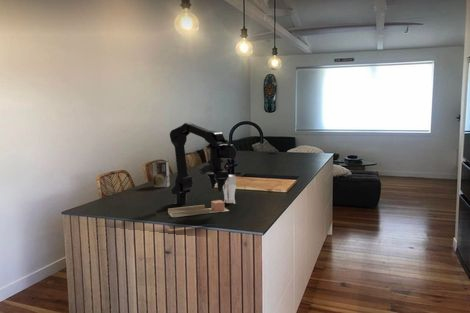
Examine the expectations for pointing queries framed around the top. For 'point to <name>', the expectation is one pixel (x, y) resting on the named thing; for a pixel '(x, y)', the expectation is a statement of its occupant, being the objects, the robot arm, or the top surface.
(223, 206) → the block
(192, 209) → the beige open frame tray
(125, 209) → the top surface
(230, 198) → the beer glass
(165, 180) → the coffee box
